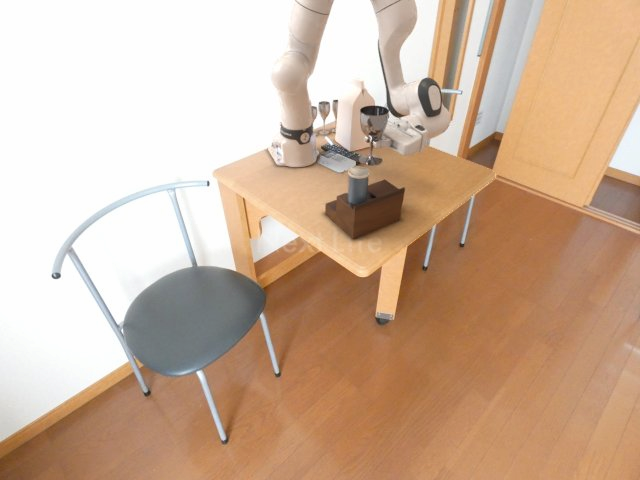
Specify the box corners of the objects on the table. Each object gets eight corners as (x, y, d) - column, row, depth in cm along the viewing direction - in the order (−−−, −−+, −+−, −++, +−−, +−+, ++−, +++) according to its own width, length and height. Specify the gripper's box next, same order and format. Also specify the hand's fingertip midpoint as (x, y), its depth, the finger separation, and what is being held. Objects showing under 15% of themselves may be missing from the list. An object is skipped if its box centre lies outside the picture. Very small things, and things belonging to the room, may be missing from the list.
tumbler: (342, 197, 107) (344, 169, 101) (359, 191, 109) (361, 164, 103) (354, 207, 103) (356, 178, 97) (371, 201, 105) (374, 173, 99)
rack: (325, 213, 118) (325, 182, 110) (370, 197, 125) (373, 166, 117) (352, 239, 108) (355, 206, 100) (400, 219, 115) (405, 188, 108)
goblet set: (309, 138, 161) (308, 107, 153) (305, 133, 165) (304, 103, 157) (366, 128, 169) (369, 98, 161) (360, 123, 174) (362, 94, 165)
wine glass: (382, 167, 108) (388, 116, 98) (355, 165, 109) (358, 114, 100) (384, 155, 114) (389, 106, 104) (359, 153, 115) (361, 104, 106)
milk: (335, 140, 159) (336, 77, 143) (357, 135, 163) (361, 73, 147) (349, 151, 151) (353, 85, 134) (373, 145, 155) (379, 81, 139)
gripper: (385, 110, 118) (349, 119, 112) (431, 133, 104) (394, 144, 99) (383, 129, 122) (348, 139, 116) (427, 153, 108) (391, 166, 103)
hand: (369, 142), depth 107 cm, fingers closed on wine glass, 3 cm apart
